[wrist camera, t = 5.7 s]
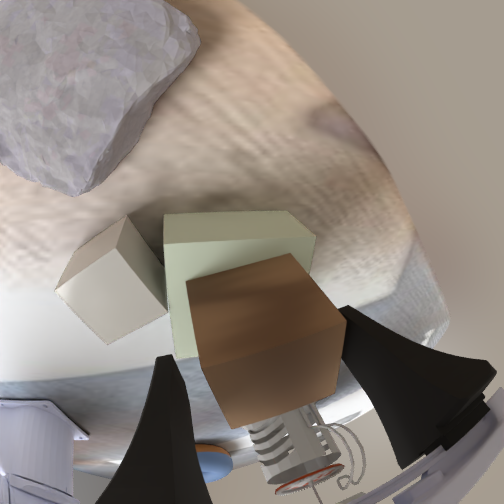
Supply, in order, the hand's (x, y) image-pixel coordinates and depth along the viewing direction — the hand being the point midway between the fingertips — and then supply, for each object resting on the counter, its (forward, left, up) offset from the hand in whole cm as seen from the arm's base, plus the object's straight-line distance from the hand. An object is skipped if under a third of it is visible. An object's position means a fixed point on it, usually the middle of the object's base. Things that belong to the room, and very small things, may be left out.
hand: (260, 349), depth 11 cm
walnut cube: (0, 0, -3) cm, 3 cm away
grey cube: (-6, +2, -7) cm, 9 cm away
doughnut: (-9, -27, -7) cm, 30 cm away
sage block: (0, 0, -7) cm, 7 cm away
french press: (+3, -19, -7) cm, 20 cm away
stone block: (-7, +13, -7) cm, 16 cm away
